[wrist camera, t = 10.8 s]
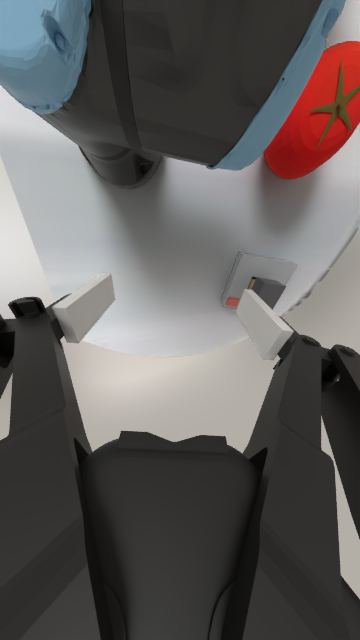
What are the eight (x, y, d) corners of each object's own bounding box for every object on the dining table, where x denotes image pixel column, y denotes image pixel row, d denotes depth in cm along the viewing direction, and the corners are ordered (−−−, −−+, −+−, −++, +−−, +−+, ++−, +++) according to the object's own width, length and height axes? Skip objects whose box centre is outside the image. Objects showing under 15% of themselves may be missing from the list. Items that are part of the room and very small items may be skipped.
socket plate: (238, 252, 36) (244, 254, 33) (290, 262, 38) (300, 265, 34) (220, 301, 44) (223, 308, 41) (264, 308, 45) (270, 315, 42)
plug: (248, 271, 39) (264, 282, 31) (266, 274, 39) (286, 286, 32) (239, 292, 42) (252, 306, 35) (256, 294, 43) (272, 310, 35)
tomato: (258, 196, 31) (290, 184, 22) (250, 113, 25) (289, 52, 16) (323, 164, 28) (388, 137, 19) (331, 64, 22) (430, -41, 13)
